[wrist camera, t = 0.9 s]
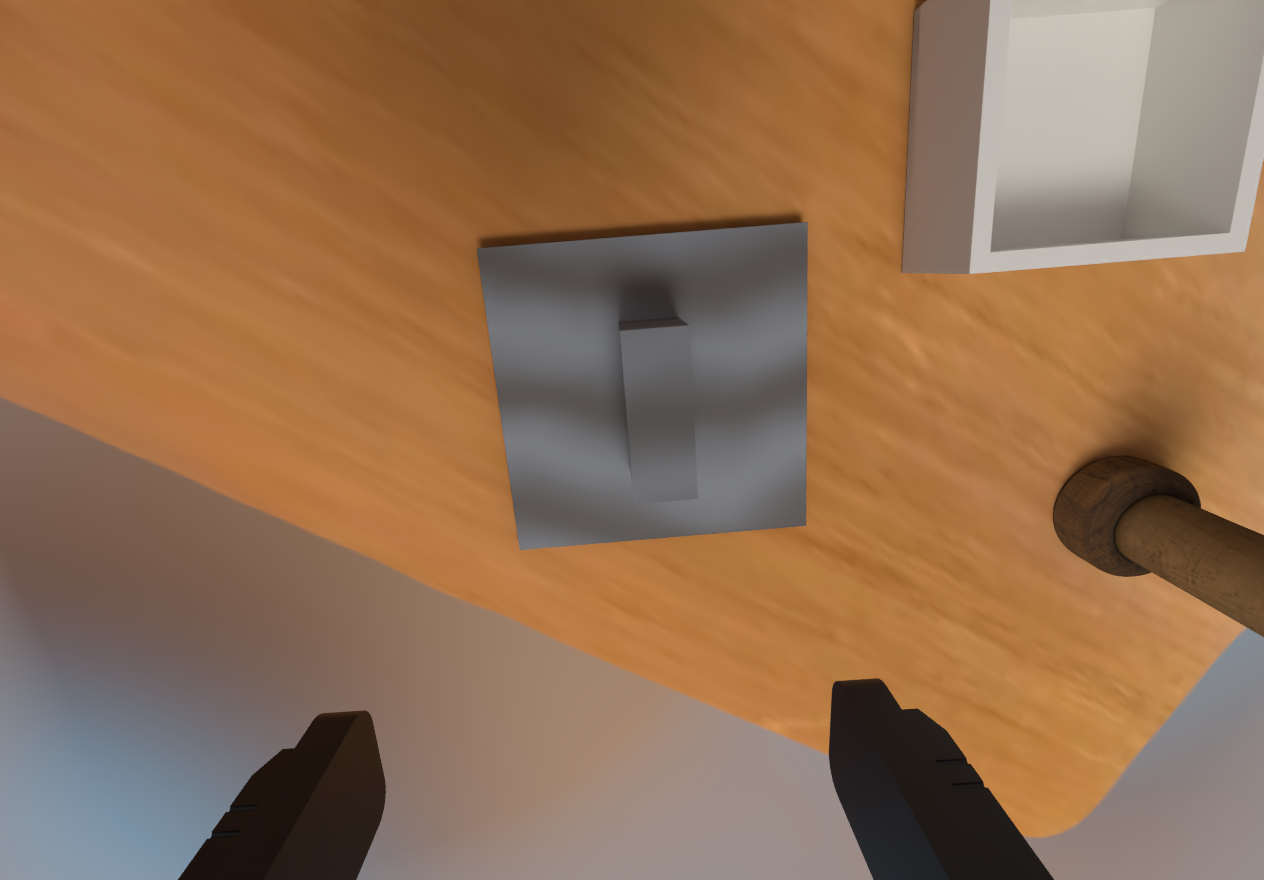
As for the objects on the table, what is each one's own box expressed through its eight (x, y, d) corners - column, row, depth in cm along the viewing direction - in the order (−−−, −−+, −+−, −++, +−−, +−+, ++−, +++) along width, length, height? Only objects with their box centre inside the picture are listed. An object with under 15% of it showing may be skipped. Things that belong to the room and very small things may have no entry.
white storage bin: (914, 11, 27) (994, -58, 22) (1164, -9, 27) (1311, -83, 22) (902, 273, 31) (969, 274, 25) (1125, 254, 31) (1244, 251, 25)
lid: (483, 249, 30) (452, 245, 24) (797, 224, 30) (842, 214, 24) (524, 537, 35) (506, 592, 29) (797, 514, 35) (835, 564, 29)
